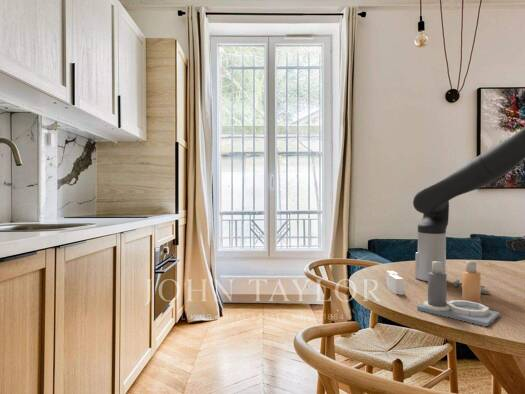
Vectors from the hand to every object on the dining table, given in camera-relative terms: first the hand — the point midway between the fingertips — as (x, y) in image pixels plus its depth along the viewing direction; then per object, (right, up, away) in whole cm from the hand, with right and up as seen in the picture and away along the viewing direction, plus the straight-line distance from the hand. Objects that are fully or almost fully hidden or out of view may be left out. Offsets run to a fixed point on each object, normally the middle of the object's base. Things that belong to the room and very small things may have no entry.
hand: (509, 246), depth 90 cm
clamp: (+2, -18, +20) cm, 27 cm away
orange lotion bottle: (-8, -17, +5) cm, 19 cm away
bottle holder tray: (-16, -17, -3) cm, 23 cm away
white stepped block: (-23, -18, +20) cm, 35 cm away
